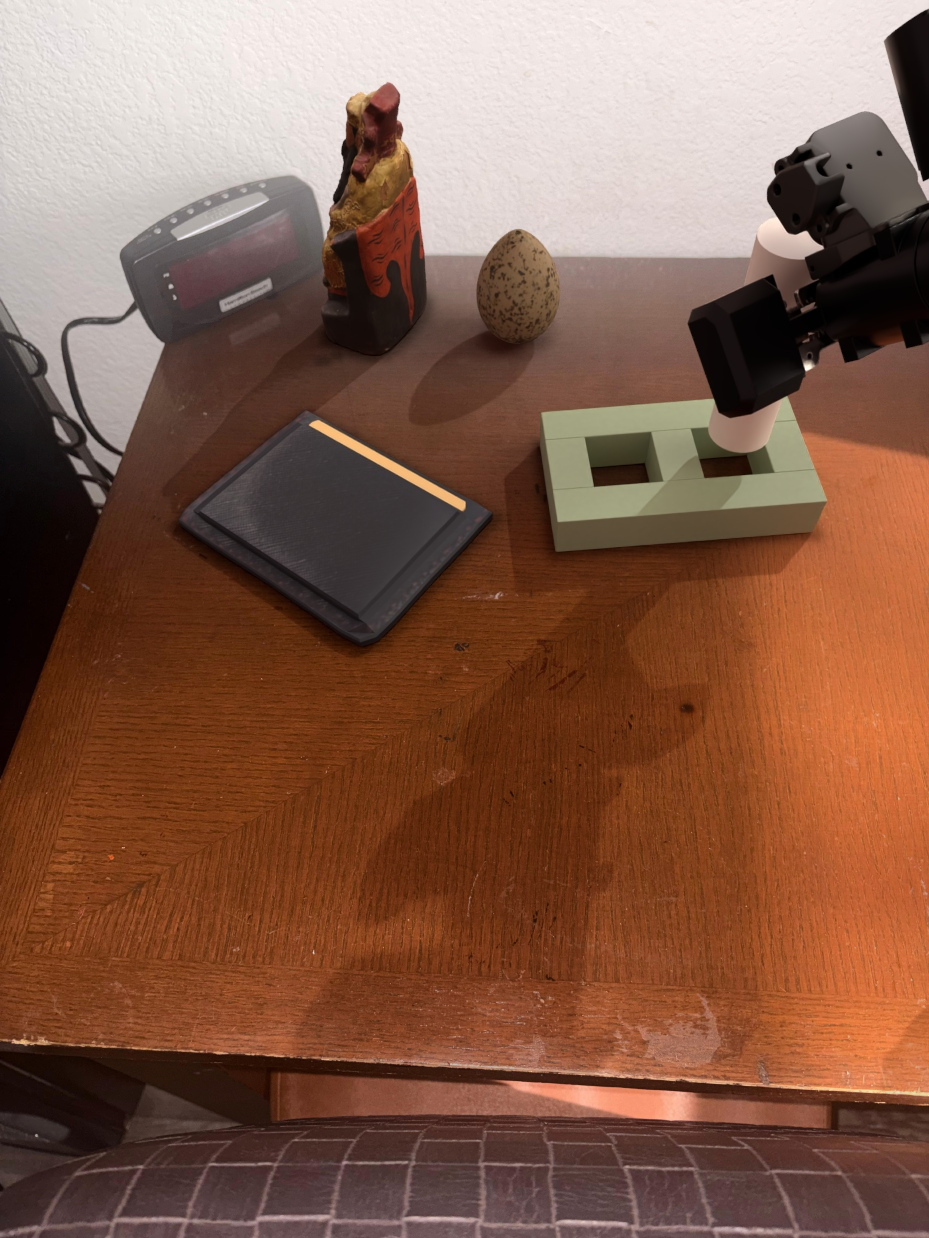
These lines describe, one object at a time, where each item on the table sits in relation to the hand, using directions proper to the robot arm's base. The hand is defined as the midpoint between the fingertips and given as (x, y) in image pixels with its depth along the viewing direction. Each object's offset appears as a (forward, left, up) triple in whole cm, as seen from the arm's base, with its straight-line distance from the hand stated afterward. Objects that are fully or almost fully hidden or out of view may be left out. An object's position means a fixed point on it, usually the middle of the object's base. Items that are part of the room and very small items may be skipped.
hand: (750, 332), depth 55 cm
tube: (-1, +1, -8) cm, 8 cm away
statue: (+26, -21, -13) cm, 36 cm away
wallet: (+29, +2, -13) cm, 32 cm away
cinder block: (+3, +1, -13) cm, 14 cm away
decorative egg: (+13, -18, -13) cm, 26 cm away
